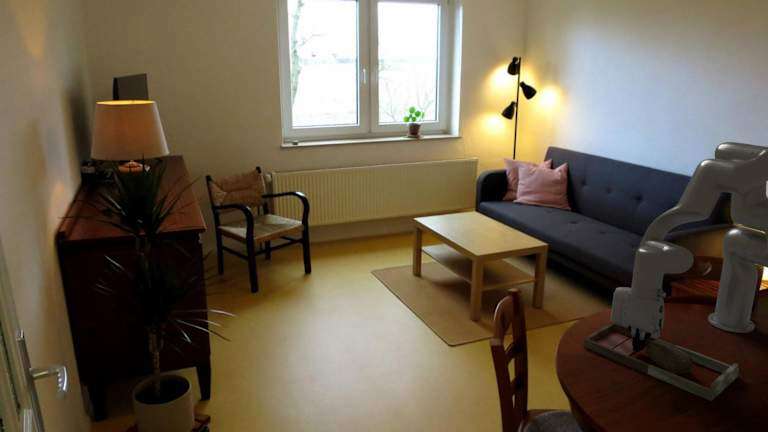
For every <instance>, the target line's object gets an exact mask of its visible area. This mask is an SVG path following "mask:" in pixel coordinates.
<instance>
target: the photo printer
mask: <svg viewBox="0 0 768 432" xmlns="http://www.w3.org/2000/svg"><path fill="white" fill-rule="evenodd" d="M630 290H631V287H625V286H621V287H616V288H615V291H614V292H613V297H612V305H611V313H610V323H614V322H615V323H618V324H621V325H622V314H623V308H624V304H625V301H626V298H627V295H628V292H629V291H630Z"/></svg>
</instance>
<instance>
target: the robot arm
mask: <svg viewBox="0 0 768 432" xmlns="http://www.w3.org/2000/svg"><path fill="white" fill-rule="evenodd" d="M767 182H768V146H764V145H756V144H751V143H742V142H737V141H736V142H734V141H725V142H722V143H720V144H718V145H717V146H716V147H715V150H714V158H705V159H703V160H701V161H700V162H699V163H698V164H697V166H696V168H695V170H694V172H693V174H692V175H691V177H690V179H689V181H688V183H687V184H686V187H685V189H684V192H683V193H682V195H681V197H680V198H679V200H678V203H677V204H676V205H674V207H672V208H669V209H668V210H666V211H665V212H663V213H662V214H660V215H659V216H658V217H657V218H655V219H654V220H653V221H652V223H651V224H649V226H648V227H647V230H646V231H645V233H644V235H643V237H642V238H641V241H640V243H639V247H638V248H637V249H636V250H635V251H636V252H635V257H634V265H633V270H632V271H633V272H632V280H631V287H630V288H631V290H630V291H629V292H628V295H627V298H626V301H625V304H624V308H623V314H622V325H623V326H625V327H626V328H628V329H629V331H630V332H631V336H632V337H633V338H632V339H633V340H632V346H633V349H632V350H633V351H635V353H640V352H641V351H643V350H644V349H645V348H646V343H645V342H646V338H648V337H653V338H658V339H659V338H660V337H661V331H660V330H662V329H663V328H664V323H665V321H664V320H665V302H664V298H665V297H666V296H667V293H666V292H665V291H663V287H662V286H663V280H664V275H665V274H682V273H685V272H687V271H688V270H689V269H690V268H691V267H692V266H693V263H694V261H695V259H694V255H693V254H692V252H691V251H690V250H689V249H688V248H686V247H684V246H681V245H678V244H674V243H672V242H668V241H666V240H664V238H665V236H666V234H668V232H670V231H671V230H672V229H674V228H676V227H677V226H680V225H683V224H688V223H692V222H699V221H704V220H706V219H707V220H708V218H709V217H710V216H711V213H712V212H713V210H714V208H715V206H716V204H717V202H718V200H719V199H720V197H721V194H722V193H729V194H731V197H730V198H731V199H730V200H731V201H730V217H731V220H732V221H733V223H734V224H736V225H738V227H733V228H731V229H728V230H727V231H726V233H725V234H724V236H723V239H722V252H723V255H722V256H723V257H722V258H723V259H722V261H723V262H722V266H721V267H722V269H721V274H720V279H719V285H718V293H717V298H716V303H715V310H714V312H712V313H710V314H709V315H708V317H707V320H708V322H709V323H710V324H711V326H714V327H716V328H718V329H720V330H723V331H726V332H732V333H739V334H748V333H751V332H753V331H754V330H755V326H756V325H755V323H754V322H753V321H752V320H751V314H752V309H753V304H754V299H755V294H756V289H757V288H756V287H757V282H758V279H759V278H758V277H759V273H758V268H757V265H758V266H760V267H764V268H768V196H767V186H768V185H767ZM739 226H741V227H739ZM640 332H641V334H640Z"/></svg>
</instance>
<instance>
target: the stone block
mask: <svg viewBox="0 0 768 432" xmlns="http://www.w3.org/2000/svg"><path fill="white" fill-rule="evenodd" d="M670 343H671V342H669V341H667V340H665V339H661V340H655V341H651V342H648V344H646V345H647V346H646V347H645V348H646V349H645V351H644V352H645V355H646V357H648V359H650V360H651V361H653V362H654V363H655V364H657V365H658V366H660V367H662V368H663V370H665V371H667V372H670V373H672V374H675V375H677V376H679V375H685V374H688V373H690V372H692V368H693V361H692V359H691V357H690V356H689V355H688V354H686V353H685V352H683V351H681V350H680V349H678V348H677V347H675V346H673V345H672V344H673V343H672V344H670Z"/></svg>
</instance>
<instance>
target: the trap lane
mask: <svg viewBox="0 0 768 432" xmlns="http://www.w3.org/2000/svg"><path fill="white" fill-rule="evenodd" d="M640 334H641V331H640ZM599 339H600V340H599ZM632 340H633V337H632V336H631V332H630V331H629V329H628V328H626V327H625V326H623V325H621V324H618V323H615V322H614V323H612V322H610V323H609V324H607V325H604V326H603V327H601V328H600V329H597V330H596V331H594V332H592V333H591V334H589V335H588V336H587V335H586V337H584V341H583V342H584V343H583V348H584V349H588V350H589V349H590V351H592V352H594V353H597V354H599V355H601V356H604V357H606V358H608V359H611V360H613V361H615V362H618V363H619V364H620V363H621V364H623V365H625V366H626V367H630V368H632V369H635V370H637V371H639V372H642V373H644V374H646V375H648V376H650V377H653V378H655V379H657V380H658V379H659V381H663V382H664V383H668V384H670V385H672V386H674V387H677V388H679V389H682V390H684V391H686V392H689V393H692V394H693V395H696V396H699V397H701V398H703V399H704V400H705V399H706V400H708V401H710V402H712V401H713V400H714V399H715V398H716V397H717V396H718V395H719V394H721V393H722V392H723V391H724V390H725V389H726V388H727V387H728V386H729V385H730V384H732V383H733V382H734V381H735V380H736V379H737V378H738V376H739V371H740V367H739V364H738V363H734V362H733V364H728V363H726V362H723V361H720V360H718V359H715V358H712V357H710V356H707V355H704V354H703V353H698V352H696V351H693V350H690V349H688V348H685V347H683V346H681V345H680V346H679V345H677V344H675V343H673V342H669V343H670V344H672V345H673V346H675V347H677V348H678V349H680V350H681V351H683V352H685V353H686V354H688V355H689V356H690V357H691V359H692V363H696V364H699V365H702V366H703V365H704V367H706V368H709V369H711V370H714V371H716V372H720V373H721V374H720V375H719V376H718V377H717V378H716V379H715V380H714V381H712V382H711V383H710V387H707V386H703V385H701V384H700V383H699V384H698V383H696V382H694V381H691V380H689V379H686V378H684V377H682V376H679V375H676V374H672V373H670V372H669V371H667V370H666V369H662V368H659V367H658V366H654V365H652V364H650V363H648V362H645V361H644V360H643V361H642V360H640V359H639V358H638V359H637V358H635V357H633V356H631V355H632V354H634V353H636V351H633V350H632V349H633V346H632ZM655 340H662V339H661V338H659V337H658V338H653V337H648V338H646V342H645V345H648V342H651V341H655Z"/></svg>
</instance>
